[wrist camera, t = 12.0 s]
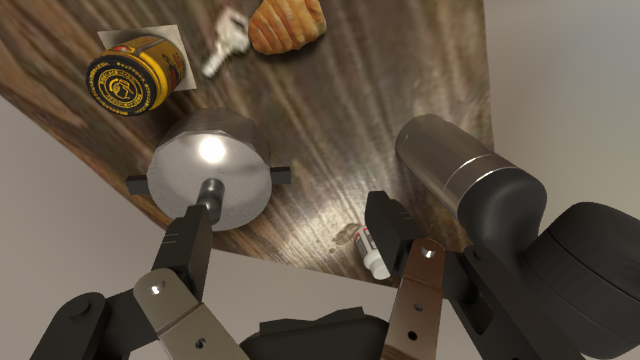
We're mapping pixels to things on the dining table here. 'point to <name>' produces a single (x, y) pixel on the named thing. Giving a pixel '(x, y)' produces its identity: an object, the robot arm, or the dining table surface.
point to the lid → (210, 178)
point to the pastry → (285, 25)
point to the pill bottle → (370, 253)
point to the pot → (222, 123)
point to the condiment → (139, 69)
